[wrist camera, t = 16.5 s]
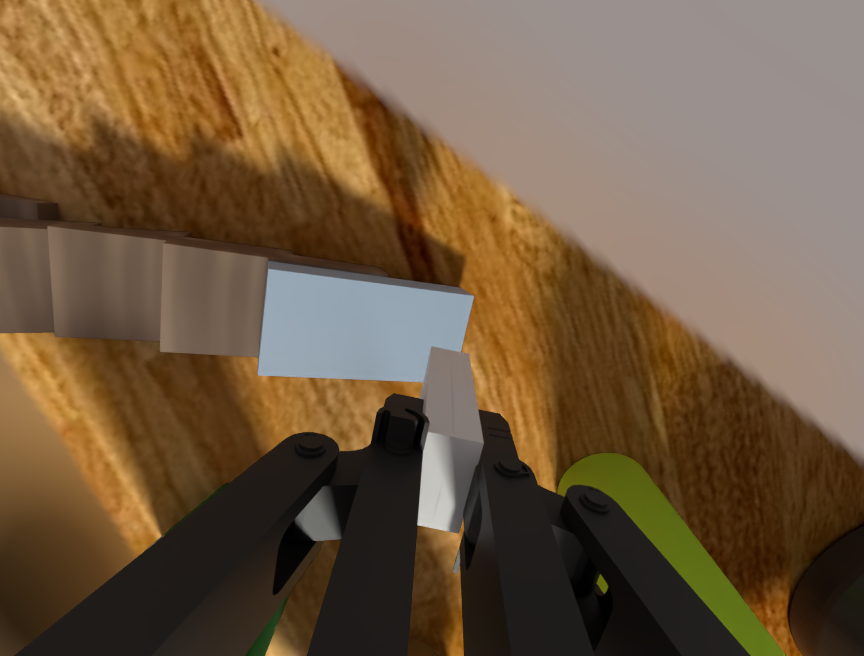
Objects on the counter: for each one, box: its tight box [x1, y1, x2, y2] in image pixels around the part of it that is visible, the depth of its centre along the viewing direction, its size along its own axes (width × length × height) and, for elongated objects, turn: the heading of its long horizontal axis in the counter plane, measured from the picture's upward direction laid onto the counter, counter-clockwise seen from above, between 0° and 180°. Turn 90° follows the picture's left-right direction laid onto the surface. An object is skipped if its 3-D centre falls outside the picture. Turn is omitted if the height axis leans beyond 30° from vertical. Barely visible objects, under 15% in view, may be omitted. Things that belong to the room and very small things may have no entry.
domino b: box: [47, 222, 293, 341], centre depth 22 cm, size 2×5×10 cm
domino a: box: [160, 237, 388, 357], centre depth 22 cm, size 2×5×10 cm
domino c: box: [0, 222, 191, 333], centre depth 21 cm, size 2×5×10 cm
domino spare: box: [258, 261, 474, 382], centre depth 22 cm, size 2×5×10 cm
